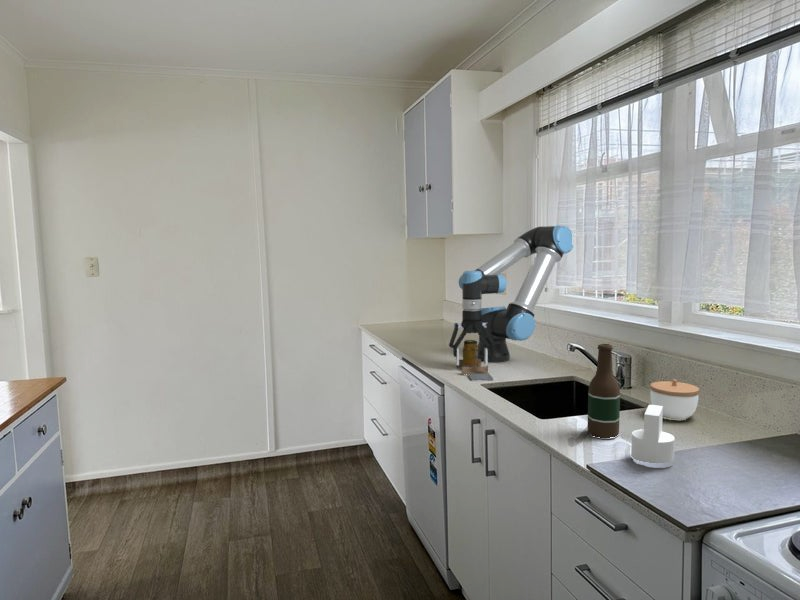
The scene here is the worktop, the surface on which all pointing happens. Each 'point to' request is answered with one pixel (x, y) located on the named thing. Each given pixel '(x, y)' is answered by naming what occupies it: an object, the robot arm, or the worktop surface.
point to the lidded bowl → (675, 398)
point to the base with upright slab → (653, 439)
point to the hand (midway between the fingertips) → (471, 364)
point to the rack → (473, 368)
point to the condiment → (470, 353)
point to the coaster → (480, 376)
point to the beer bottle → (604, 397)
